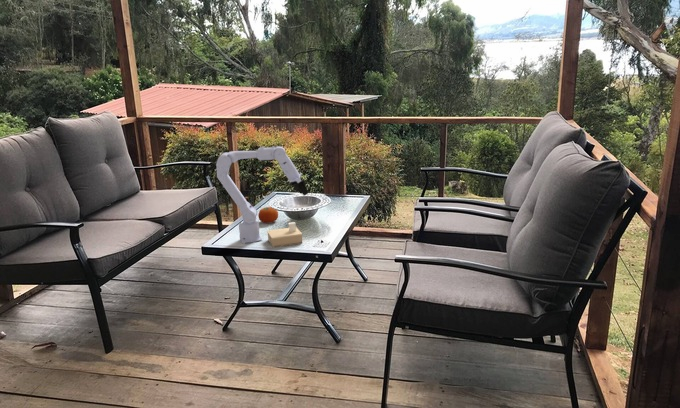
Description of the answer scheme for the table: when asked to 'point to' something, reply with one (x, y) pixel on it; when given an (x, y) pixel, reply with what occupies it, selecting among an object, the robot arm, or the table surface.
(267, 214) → the fruit
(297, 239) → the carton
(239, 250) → the table surface
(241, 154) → the robot arm
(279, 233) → the lid
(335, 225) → the table surface
